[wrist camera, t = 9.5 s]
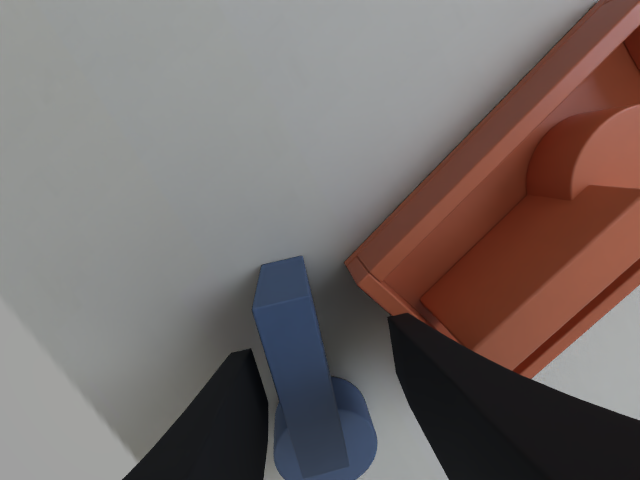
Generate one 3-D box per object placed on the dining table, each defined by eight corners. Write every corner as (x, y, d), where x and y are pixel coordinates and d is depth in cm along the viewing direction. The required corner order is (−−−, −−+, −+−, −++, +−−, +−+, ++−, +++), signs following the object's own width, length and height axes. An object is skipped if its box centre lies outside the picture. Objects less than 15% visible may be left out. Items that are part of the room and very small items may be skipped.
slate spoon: (227, 272, 10) (203, 320, 7) (334, 247, 10) (355, 284, 7) (287, 459, 12) (287, 554, 9) (371, 436, 12) (398, 521, 9)
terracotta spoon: (460, 338, 11) (523, 403, 8) (397, 279, 10) (442, 329, 7) (644, 168, 10) (791, 172, 7) (593, 85, 9) (738, 51, 6)
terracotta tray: (464, 370, 12) (497, 409, 10) (343, 262, 10) (356, 285, 8) (692, 165, 11) (777, 166, 9) (600, -2, 9) (684, -45, 7)
